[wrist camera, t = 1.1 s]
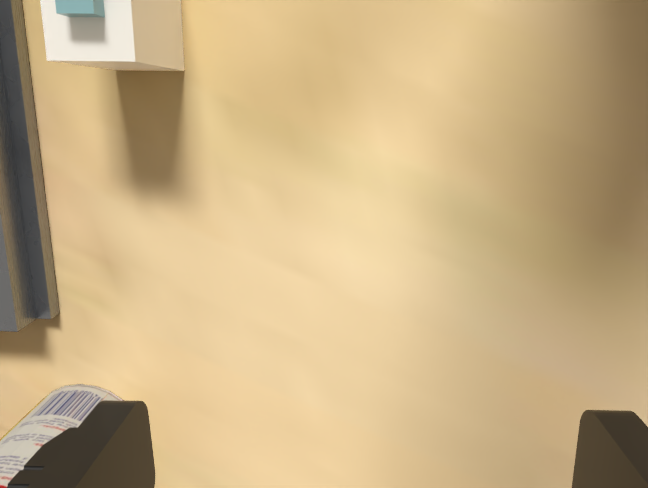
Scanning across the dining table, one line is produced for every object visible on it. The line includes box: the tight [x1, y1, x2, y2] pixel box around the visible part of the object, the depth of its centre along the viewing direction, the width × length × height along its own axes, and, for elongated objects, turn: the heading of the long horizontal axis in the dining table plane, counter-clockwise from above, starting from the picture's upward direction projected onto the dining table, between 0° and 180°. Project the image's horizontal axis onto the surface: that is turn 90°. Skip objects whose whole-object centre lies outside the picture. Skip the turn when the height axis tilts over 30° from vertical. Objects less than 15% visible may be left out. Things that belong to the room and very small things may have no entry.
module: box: [40, 0, 185, 71], centre depth 26 cm, size 6×4×8 cm, turn 179°
